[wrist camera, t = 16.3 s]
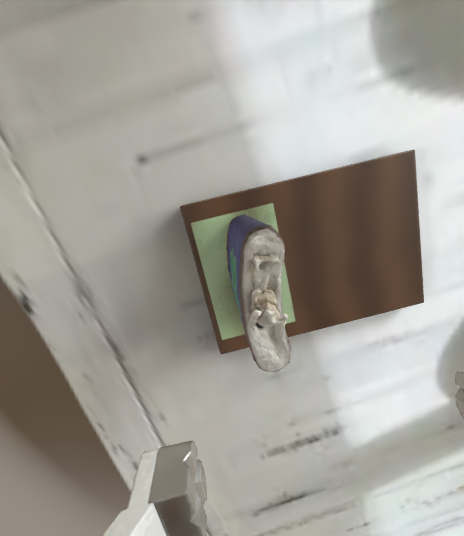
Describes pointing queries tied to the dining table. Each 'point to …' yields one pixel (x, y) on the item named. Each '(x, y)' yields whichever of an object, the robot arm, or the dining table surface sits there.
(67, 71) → the dining table surface
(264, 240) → the flask
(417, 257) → the board
